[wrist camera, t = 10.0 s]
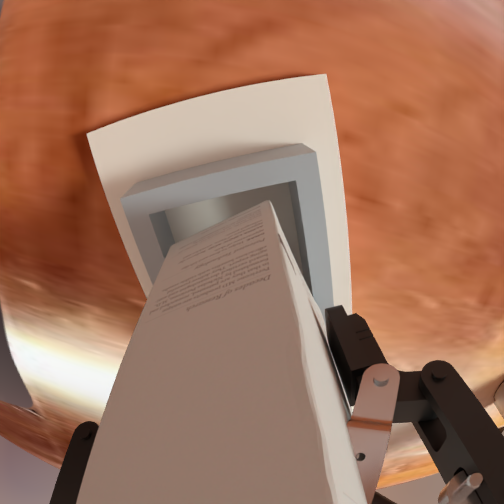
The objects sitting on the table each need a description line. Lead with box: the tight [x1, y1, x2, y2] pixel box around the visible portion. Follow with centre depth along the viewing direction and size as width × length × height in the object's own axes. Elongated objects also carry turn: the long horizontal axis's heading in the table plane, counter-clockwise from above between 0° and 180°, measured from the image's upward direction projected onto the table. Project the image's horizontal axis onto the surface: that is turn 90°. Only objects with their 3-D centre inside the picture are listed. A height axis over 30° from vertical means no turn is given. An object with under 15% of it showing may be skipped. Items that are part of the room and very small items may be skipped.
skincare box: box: [76, 200, 367, 504], centre depth 11 cm, size 8×6×15 cm
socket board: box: [87, 74, 352, 325], centre depth 19 cm, size 20×14×4 cm
